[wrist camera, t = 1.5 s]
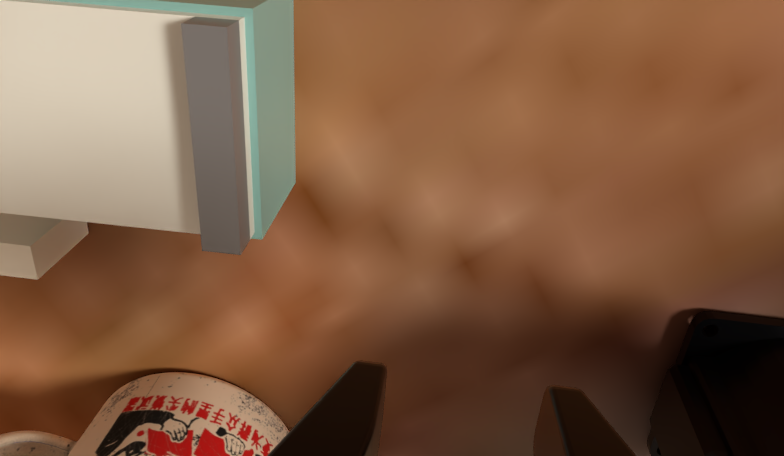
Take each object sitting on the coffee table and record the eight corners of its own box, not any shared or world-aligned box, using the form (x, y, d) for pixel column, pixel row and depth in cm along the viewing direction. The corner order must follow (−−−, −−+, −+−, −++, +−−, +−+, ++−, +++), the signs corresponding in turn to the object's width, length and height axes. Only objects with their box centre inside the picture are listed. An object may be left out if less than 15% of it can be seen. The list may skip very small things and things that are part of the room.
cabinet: (295, -16, 18) (235, 18, 13) (297, 179, 21) (248, 262, 16) (22, -38, 18) (-125, -13, 14) (60, 156, 21) (-51, 229, 17)
